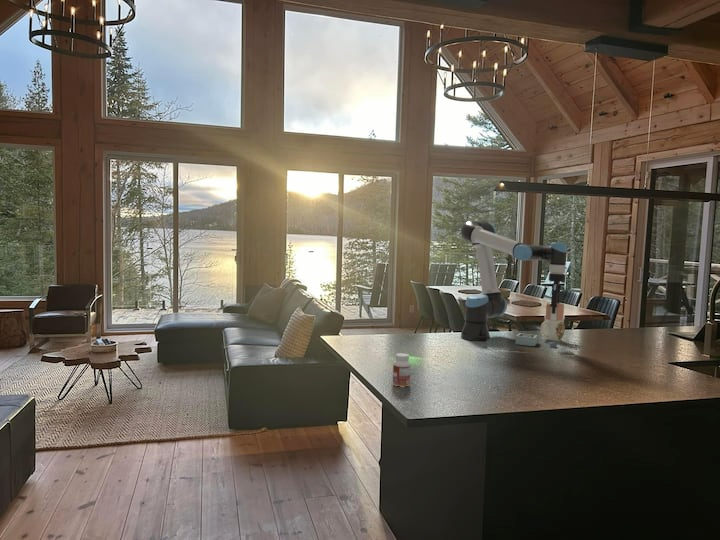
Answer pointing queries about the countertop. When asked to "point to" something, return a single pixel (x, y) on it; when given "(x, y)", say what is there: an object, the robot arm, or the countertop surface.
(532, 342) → the crate
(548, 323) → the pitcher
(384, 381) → the countertop surface
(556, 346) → the ball
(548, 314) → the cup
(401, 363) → the pill bottle
